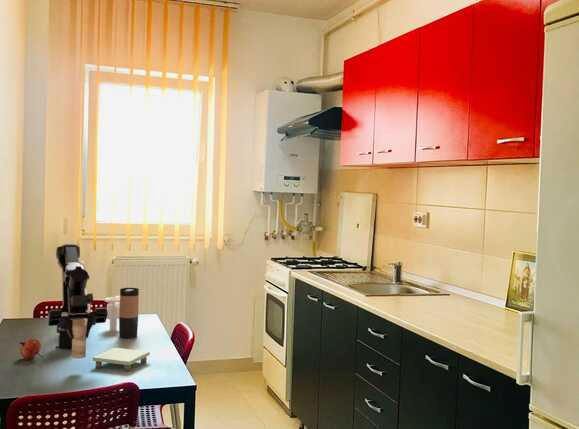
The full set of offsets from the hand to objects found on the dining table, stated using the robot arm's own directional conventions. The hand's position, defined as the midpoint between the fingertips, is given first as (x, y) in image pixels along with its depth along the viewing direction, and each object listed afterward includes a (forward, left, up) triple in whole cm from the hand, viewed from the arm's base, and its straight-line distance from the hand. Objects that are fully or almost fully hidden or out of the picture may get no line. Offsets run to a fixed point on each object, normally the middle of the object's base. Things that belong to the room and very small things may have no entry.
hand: (79, 338), depth 199 cm
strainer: (-58, -23, -12) cm, 64 cm away
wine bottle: (-50, -35, -12) cm, 62 cm away
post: (-1, -1, -7) cm, 7 cm away
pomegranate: (-8, -25, -12) cm, 29 cm away
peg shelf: (-13, +8, -11) cm, 19 cm away
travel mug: (-50, -11, -12) cm, 53 cm away
